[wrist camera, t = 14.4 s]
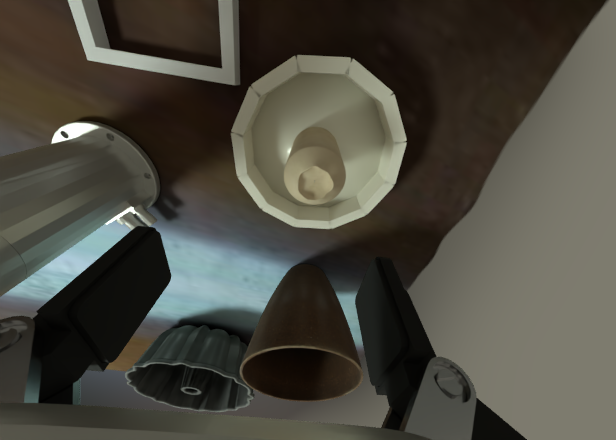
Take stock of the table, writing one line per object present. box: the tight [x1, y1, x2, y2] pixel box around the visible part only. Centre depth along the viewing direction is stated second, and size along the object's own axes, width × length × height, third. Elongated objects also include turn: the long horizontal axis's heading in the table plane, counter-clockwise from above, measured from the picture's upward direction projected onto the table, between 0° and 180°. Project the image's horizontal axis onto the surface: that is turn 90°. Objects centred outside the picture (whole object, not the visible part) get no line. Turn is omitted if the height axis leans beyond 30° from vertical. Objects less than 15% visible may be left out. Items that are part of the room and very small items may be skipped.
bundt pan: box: [125, 325, 254, 412], centre depth 50 cm, size 26×26×10 cm
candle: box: [284, 127, 346, 205], centre depth 22 cm, size 6×6×10 cm
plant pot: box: [240, 264, 363, 402], centre depth 33 cm, size 15×15×16 cm
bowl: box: [231, 55, 407, 229], centre depth 25 cm, size 18×18×4 cm
